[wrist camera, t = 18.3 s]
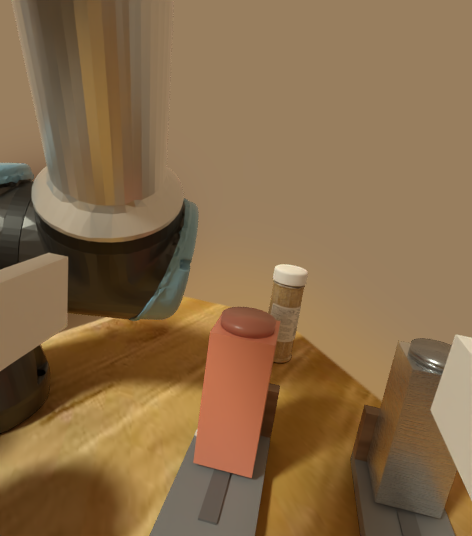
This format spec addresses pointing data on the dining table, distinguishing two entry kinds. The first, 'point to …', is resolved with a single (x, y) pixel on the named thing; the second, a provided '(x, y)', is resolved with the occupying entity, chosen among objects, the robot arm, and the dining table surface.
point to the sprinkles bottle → (286, 306)
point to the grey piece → (217, 492)
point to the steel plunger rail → (380, 515)
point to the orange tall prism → (235, 389)
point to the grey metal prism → (412, 433)
